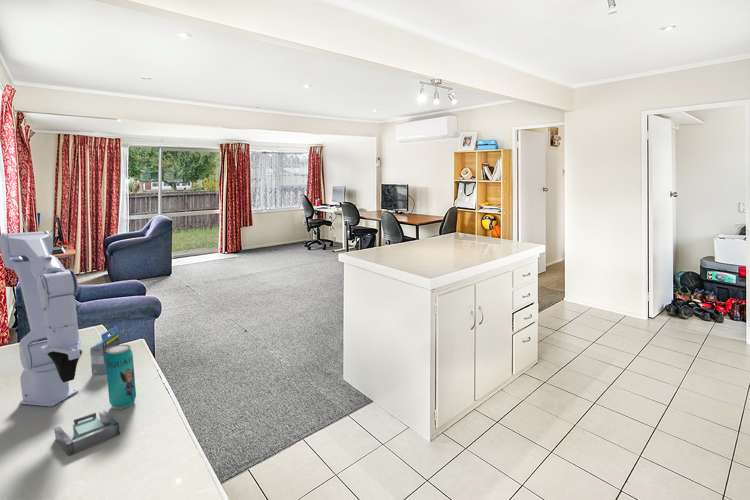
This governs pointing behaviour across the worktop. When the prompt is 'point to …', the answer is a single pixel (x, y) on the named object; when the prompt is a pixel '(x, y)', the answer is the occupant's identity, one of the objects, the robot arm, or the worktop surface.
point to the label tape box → (103, 351)
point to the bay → (88, 435)
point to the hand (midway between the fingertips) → (67, 380)
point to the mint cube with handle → (86, 425)
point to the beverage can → (120, 376)
